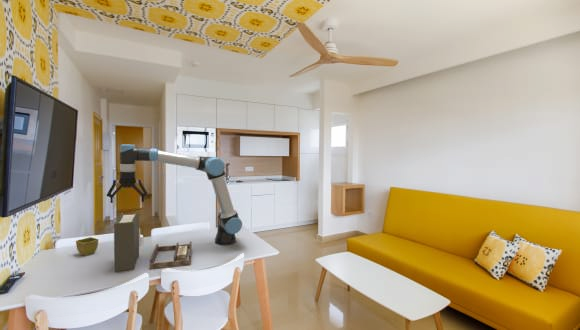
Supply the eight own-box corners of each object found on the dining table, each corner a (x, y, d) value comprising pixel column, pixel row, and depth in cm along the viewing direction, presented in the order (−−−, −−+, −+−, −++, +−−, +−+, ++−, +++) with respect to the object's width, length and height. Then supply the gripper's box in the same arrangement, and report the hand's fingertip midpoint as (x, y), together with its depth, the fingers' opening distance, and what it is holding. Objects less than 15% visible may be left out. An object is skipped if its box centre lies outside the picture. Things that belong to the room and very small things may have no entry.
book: (134, 271, 148) (133, 221, 146) (114, 274, 144) (113, 222, 142) (139, 256, 167) (138, 211, 165) (121, 258, 164) (121, 212, 162)
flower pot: (99, 253, 170) (99, 239, 170) (83, 257, 163) (83, 243, 162) (90, 250, 174) (90, 236, 174) (75, 255, 166) (75, 240, 166)
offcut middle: (187, 251, 174) (188, 248, 174) (185, 261, 159) (185, 257, 158) (179, 252, 172) (179, 249, 172) (176, 262, 157) (176, 258, 157)
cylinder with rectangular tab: (145, 245, 186) (145, 228, 186) (130, 248, 180) (130, 230, 179) (140, 242, 192) (140, 225, 192) (126, 245, 186) (126, 228, 185)
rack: (191, 249, 180) (191, 240, 180) (190, 266, 154) (190, 256, 153) (156, 252, 173) (156, 243, 173) (149, 271, 147) (149, 260, 146)
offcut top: (187, 248, 174) (187, 245, 174) (185, 257, 159) (185, 254, 159) (179, 249, 172) (179, 246, 172) (176, 258, 157) (176, 255, 157)
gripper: (152, 170, 161) (152, 205, 162) (104, 170, 153) (104, 207, 154) (150, 171, 154) (150, 208, 155) (99, 171, 145) (100, 210, 146)
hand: (127, 208), depth 154 cm, fingers open, 13 cm apart
